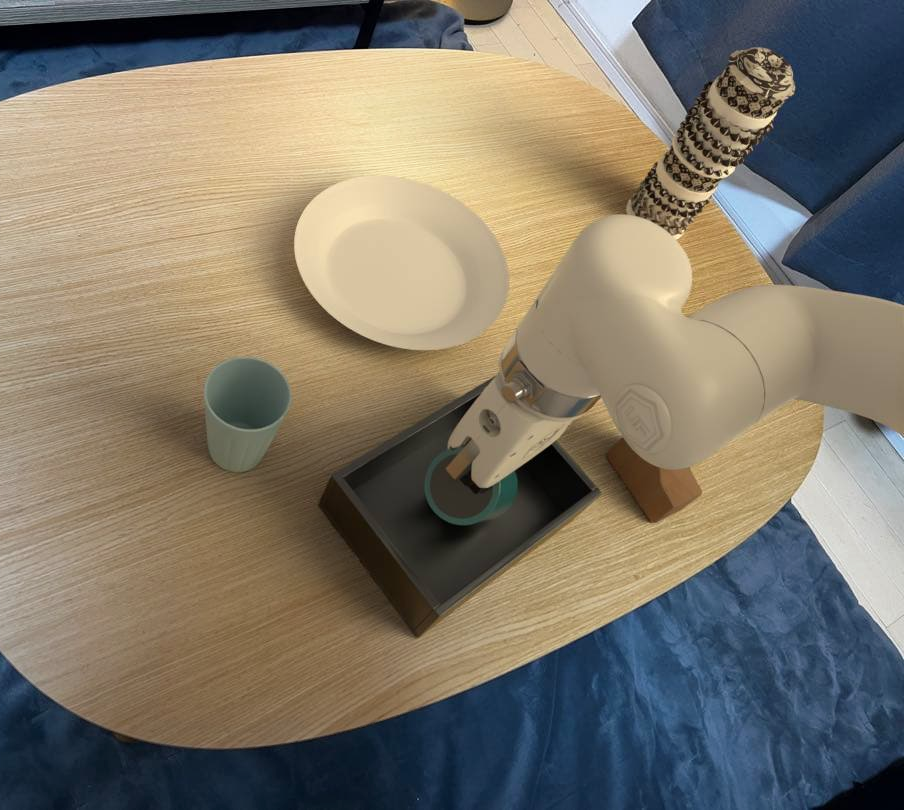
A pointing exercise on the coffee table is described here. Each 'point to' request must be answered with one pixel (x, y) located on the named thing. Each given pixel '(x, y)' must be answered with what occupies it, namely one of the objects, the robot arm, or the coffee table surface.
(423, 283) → the white plate
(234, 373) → the cup
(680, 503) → the wooden block
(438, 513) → the pot
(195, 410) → the coffee table surface
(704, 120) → the decorative candle
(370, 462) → the dark grey shallow box
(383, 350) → the coffee table surface
